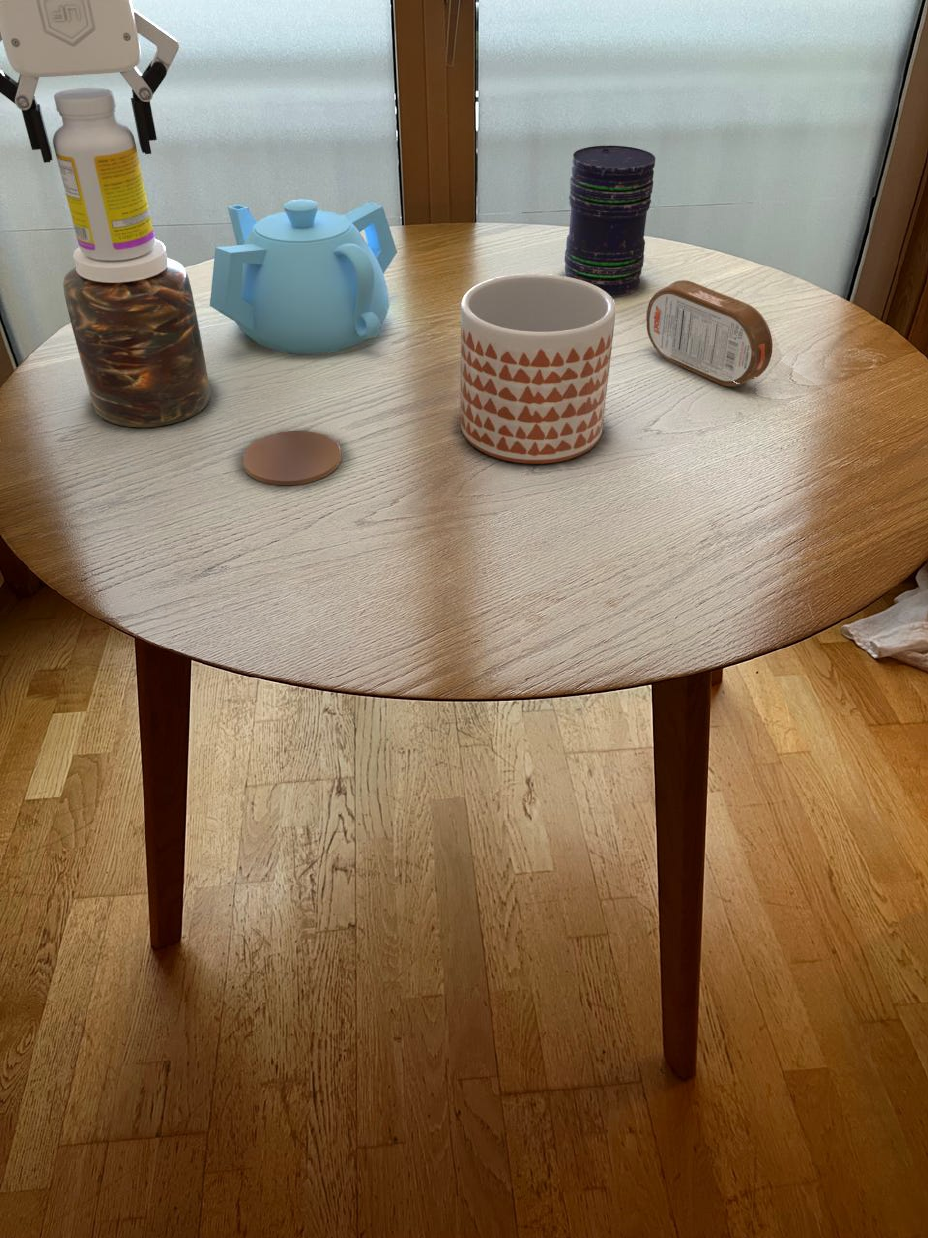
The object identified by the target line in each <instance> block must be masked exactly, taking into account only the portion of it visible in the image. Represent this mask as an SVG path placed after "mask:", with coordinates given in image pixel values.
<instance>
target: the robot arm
mask: <svg viewBox="0 0 928 1238" xmlns="http://www.w3.org/2000/svg"><path fill="white" fill-rule="evenodd" d="M139 35H140V36H142V37H143V38H145V39H146V40H147V41H149V42H150V43H152V44H153V45H155V46H156V51H155V54H154V56H153V58H152V60H151V61H150V63H149V64H148V66H147V67H146V69H145V70H144V71H143V72H142V73H141V72H140V70H139V69H138V68H137V66H139V64H140V63H141V60H142V52H141V44H140V37H139ZM0 42H2V44H3V48H4V52H5V55H6V58H7V61H8V62H9V65H10V67H11V68H12V69H13V70H14V72H16V73H17V74H19V76H18V80H17V81H16V80H15V79H13V78H12V77H11V76H10V75H8V74H7V73H6V72H4V71H3V70H2V69H0V94H1V95H3V96H4V97H5V98H7V99H8V100H9V101H11V102H12V103H13V104H14V105H15V107H16V108H18V109H19V110H21V114H22V117H23V122H24V126H25V129H26V132H27V136H28V141H29V144H30V147H31V151H37V150H40V153H41V157H42V161H43V163H44V164H46V163H51V161H53V151H52V148H51V147H52V146H51V143H50V140H49V136H48V131H47V127H46V124H45V119H44V115H43V112H42V108H41V104H40V103H38V102H37V100H36V96H35V93H36V90H37V86H38V83H39V80H40V78H55V77H70V76H72V77H73V76H85V75H86V76H87V75H88V76H89V75H102V74H118V73H119V74H120V75H121V76H122V78H123V79H124V80H125V81H126V83H127V84H128V85H129V87H130V89H131V93H132V97H130V103H131V108H132V113H133V117H134V123H135V128H136V133H137V138H138V142H139V143H138V144H139V147H140V149H141V152H142V154H145V155H152V148H151V144H150V143H151V142H153V141H157V140H158V137H157V132H156V127H155V122H154V115H153V111H152V106H151V105H152V104H151V100H152V99H153V96H154V94H155V93H156V91H157V90H158V88H159V87H160V86H161V84H162V83H163V81H164V80H165V78H166V77H167V73H168V71H169V69H170V67H171V65H172V64H173V62H174V60H175V58H176V56H177V53H178V51H179V48H180V45H179V43H178V41H177V39H175V37H173V36H172V35H170V34H169V33H168V32H167V31H165V30H163V29H162V28H161V27H159V26H158V25H157V24H155V23H154V22H152V21H150V19H148V18H147V17H145V16H144V15H142V14H141V13H140V12H138V11H137V10H136V9H134V7H133V3H132V0H0ZM150 141H151V142H150Z"/></svg>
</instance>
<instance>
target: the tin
mask: <svg viewBox="0 0 928 1238" xmlns="http://www.w3.org/2000/svg"><path fill="white" fill-rule="evenodd" d="M645 319H646V320H645V322H646V332H647V335H648V338H649V341H650V343H651V345H652V347H653V348H654V349H655V351H656V352H657V353H658V355H660V356H661V357H662V358H664V359H665V360H667V361H668V362H670V363H673V364H675V365H677V366H679V367H682V368H684V369H686V370H688V371H690V372H693V373H695V374H696V375H699V376H701V377H703V378H706V379H707V380H710V381H712V382H714V383H716V384H718V385H721V386H725V387H737V386H741V385H742V384H741V383H743V384H745V383H747V382H749V381H751V380H754V379H755V378H754V377H756V378H758V377H760V376H761V375H762V374H763V373H764V372H765V371H766V369H768V367H769V364H770V362H771V360H772V356H773V348H774V347H773V338H772V332H771V330H770V327H769V325H768V323H767V321H766V319H765V318H764V316H763V315H762V314H761V313H760V312H759V311H758V309H756V308H755V307H754V306H753V305H750V304H749V303H746V302H744V301H742V300H739V299H736V298H734V297H731V296H729V295H726V294H723V293H721V292H718V291H716V290H714V289H711V288H709V287H706V286H703V285H701V284H699V283H696V282H693V281H691V280H685V279H684V280H683V279H682V280H676V281H674V282H672V283H670V284H669V285H668V286H666V287H663V288H661V289H659V290H658V291H657V292H656V293H654V294H653V296H651V298H650V299H649V301H648V305H647V309H646V318H645ZM699 366H700V367H699ZM706 369H707V370H706ZM713 372H714V373H713ZM716 373H717V374H716ZM718 374H720V375H718ZM721 375H722V376H721ZM723 376H725V377H728V378H730V379H731V380H734V381H735V382H737V383H740V384H736V383H734V382H733V381H731V380H729V379H727V378H725V377H723Z"/></svg>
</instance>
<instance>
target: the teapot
mask: <svg viewBox="0 0 928 1238" xmlns="http://www.w3.org/2000/svg"><path fill="white" fill-rule="evenodd" d="M318 206H319V203H318V202H316V201H314V200H311V199H304V198H301V199H292V200H290V201H287V202H285V203H284V204H283V209H284V211H280V212H275V213H272V214H269V215H266V216H264V217H262V218H261V219H259V220H258V221H257V220H256V219H255V217H254V216H253V214H252V213H251V211H250V208H249V207H248V206H246V205H243V204H240V203H237V204H234V205H230V206H227V210H228V214H229V219H230V222H231V226H232V230H233V235H234V238H235V242H236V245H228V246H227V245H226V246H216V247H215V248H214V256H213V257H214V258H213V268H212V278H211V279H212V280H211V287H210V288H211V289H210V298H209V307H211V308H212V309H214V310H216V311H217V312H219V313H220V314H222V315H223V316H225V317H227V318H228V319H229V320H232V321H233V322H235V324H236V325H237V326H238V328H239V329H240V330H241V331H242V332H243V333H245V334H246V335H247V336H248V337H249V338H250V339H251V340H253V341H254V342H255V343H257V344H258V345H259V346H262V347H264V348H265V349H269V350H271V351H275V352H280V353H284V354H295V355H318V354H327V353H328V354H329V353H334V352H339V351H342V350H346V349H349V348H351V347H355V346H357V345H359V344H361V343H362V342H365V341H366V340H367V339H374V338H376V337H377V336H378V335H379V334H380V333H381V331H382V330H381V329H382V323H383V322H384V320H385V319H386V317H387V315H388V312H389V308H390V299H389V298H390V297H389V291H388V290H389V289H388V286H387V281H386V279H385V275H384V274H385V273H386V271H387V269H388V267H389V266H390V265H391V263H392V261H393V260H394V258H395V257H396V255H397V253H398V250H397V247H396V244H395V240H394V237H393V235H392V231H391V228H390V225H389V222H388V218H387V216H386V213H385V210H384V207H383V205H380V204H377V203H375V202H372V201H367V202H366V203H363V204H362V205H360V206H358V207H355V208H354V209H352V210H350V211H348V212H346V213H344V214H340V213H338V212H334V211H330V210H329V211H328V210H323V209H318ZM362 231H364V235H365V238H366V239H365V238H364V236H363V235H362V234H361V232H362Z"/></svg>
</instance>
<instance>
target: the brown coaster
mask: <svg viewBox="0 0 928 1238" xmlns="http://www.w3.org/2000/svg"><path fill="white" fill-rule="evenodd" d="M241 462H242V466H243V469H244V471H245V473H246V474H247V475H248V476H250V477H251V478H253V479H254V480H256V481H258V482H261V483H263V484H268V485H272V486H273V485H274V486H299V485H305V484H310V483H313V482H316V481H318V480H322V479H324V478H326V477H327V476H329V475H330V474H331V475H332V473H333V472H334V471H335V470H336V469H337V468H338V467H339V466H340V464H341V462H342V449H341V446H340V445H339V444H338V442H336V441H335V440H334V439H333V438H332V437H329V436H328V435H325V434H323V433H319V432H315V431H309V430H287V431H279V432H276V433H272V434H268V435H266V436H263V437H261V438H259V439H257V440H255V441H254V442H252V443H251V444H250V445H248V446H247V448H246V449H245V450H244V452H243V455H242V461H241Z"/></svg>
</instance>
